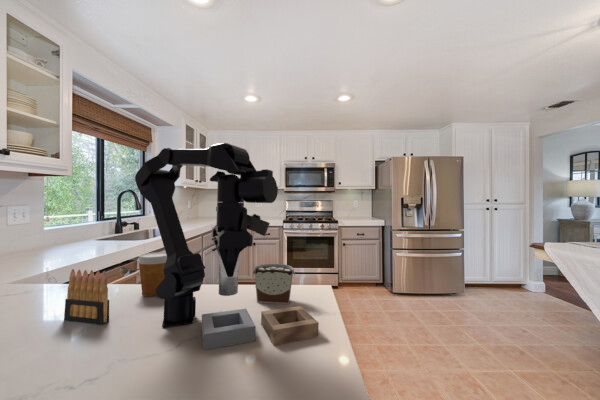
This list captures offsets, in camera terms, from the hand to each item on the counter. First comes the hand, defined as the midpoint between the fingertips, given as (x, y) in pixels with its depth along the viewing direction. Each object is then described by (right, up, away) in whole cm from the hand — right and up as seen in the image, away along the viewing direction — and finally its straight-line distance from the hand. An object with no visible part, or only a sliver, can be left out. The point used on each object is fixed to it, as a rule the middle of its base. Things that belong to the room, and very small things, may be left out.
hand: (228, 274), depth 57 cm
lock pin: (0, -4, 0) cm, 4 cm away
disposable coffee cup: (-30, -13, +25) cm, 42 cm away
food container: (+8, -14, +21) cm, 27 cm away
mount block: (+13, -13, +2) cm, 18 cm away
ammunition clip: (-35, -13, +5) cm, 37 cm away
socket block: (0, -13, 0) cm, 13 cm away
